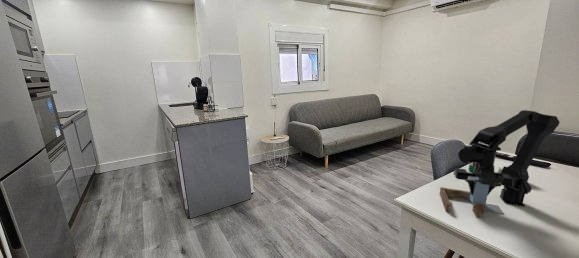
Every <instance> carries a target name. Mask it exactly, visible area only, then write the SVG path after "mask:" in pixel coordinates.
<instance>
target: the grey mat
mask: <svg viewBox="0 0 579 258" xmlns="http://www.w3.org/2000/svg"><path fill="white" fill-rule="evenodd" d="M484 212H489V213H494V214H498V215H499V214H500V215H505V213H504V211H503V210H502V209H501V207H500V206H499V205H497V204H492V203H486V205H485V209H484Z"/></svg>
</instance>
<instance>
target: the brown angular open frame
mask: <svg viewBox="0 0 579 258" xmlns="http://www.w3.org/2000/svg"><path fill="white" fill-rule="evenodd" d="M470 193H471V192H470V190H469V191H468V190H461V189H456V188H449V187H448V188H447V187H440V189H439V196H440V199H441V202H442V205H443V207H444V211H445V213H450V209H451V203H450V200H449V197H450V198H455V199H460V200H461V199H462V200H465V201H466V200H468V201H471V200H470ZM484 209H485V205H484V204H479V203H473V204H472V209H471V210H472V213H473V214H474V217H475V218H476V219H481V216H482V215H481V214H485V211H484Z"/></svg>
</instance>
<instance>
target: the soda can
mask: <svg viewBox="0 0 579 258" xmlns="http://www.w3.org/2000/svg"><path fill="white" fill-rule="evenodd" d="M468 164H469V165H468V171H469V173H474V171H473V170H474V169H475V162H472V163H468Z"/></svg>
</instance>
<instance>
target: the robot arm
mask: <svg viewBox="0 0 579 258" xmlns="http://www.w3.org/2000/svg"><path fill="white" fill-rule="evenodd" d="M558 126H560V120H559V118H558V117H557V116H556V115H550V114H549V115H548V114H544V113H539V112H537V111H534V110H528V109H527V110H526V109H523V110H520V111H519V112H518V113H517V114H516V115H513V116H512V117H510V118H508V119H506V120H505V121H502V122H501V123H500V124H498V125H495V126H488V127H485V128H482V129H480V130H479V131H477V133H476V135H475V136H474V137H473V138H472V140H471V141H470V142H469V144H468V145H464V147H463V148H461V149H460V150H459V152H458V159H459V161H460V162H461V163H463V164H470V163H472V162H475V169H474V170H473V171H474V173H473V172H470V171H469V172H468V171H467V170H466V169H464V168H457V167H456V168H454V170H453V175H454V177H455V179H457V180H464V182H466V183H467V184H468V187H469V192H471V195H473V188H474V183H475V182H474V180H473V178H479V182H480V183H481V184H483V185H485V184H486V185H489V190H488V195H487V197H488V196H489V195H490V193H491V192H492V191H493V190H494V189H495V188H497V187H502V186H503V188H502V189H501V191H500V195H499V197H500V199H501V200H502V201H503V203H504V204H508V205H513V206H519V207H520V206H521V207H525V204H524V203H523V202H524V200H525V197H526V196H525V195H528V194H529V193H531V191H532V190H533V187H532V186H531V185H530V183H529V182H528V181H529V179H530V176H529V172H528V168H529V167H530V166H531V164H532V161H533V159H534V158H535V156H536V154H537V151H538V150H539V148H540V146H541V144H542V143H543V141H544V138H546V137H547V136H549V135H551V134H553V133H554V132H555V130H556V129H557V127H558ZM524 127H526V131H527V134H526V136H525V138H524V140H523V142H522V144H521V145H520V148H519V150H518V152H517V154H516V156H515V158H514V159H513V161H512V164H510V166H509V165H507V166H508V167H507V166H503V167H502V168H501V169H502V171H501V173H496V171H495V165H494V164H495V161H496V160H495V159H496V155H497V152H499V151H501V150H502V148H501V147H500V145H502V144H503V143H504V142H505V141H506V140H507V137H508V136H509V135H511V134H513V133H515V132H516V131H518V130H520V129H521V128H524Z"/></svg>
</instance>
